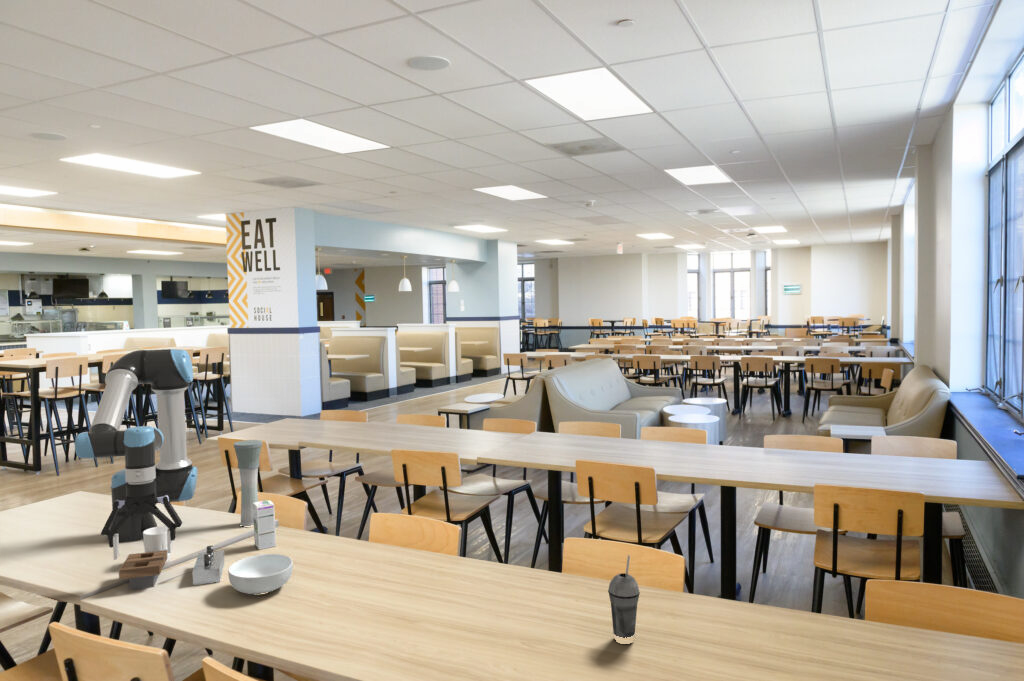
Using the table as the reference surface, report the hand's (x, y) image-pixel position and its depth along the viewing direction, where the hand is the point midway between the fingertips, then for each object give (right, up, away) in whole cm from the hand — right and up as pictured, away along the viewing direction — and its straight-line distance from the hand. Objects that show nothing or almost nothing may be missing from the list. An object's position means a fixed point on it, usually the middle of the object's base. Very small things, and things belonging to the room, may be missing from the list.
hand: (143, 554), depth 190 cm
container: (+10, -6, +52) cm, 53 cm away
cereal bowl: (+36, -8, -5) cm, 37 cm away
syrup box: (+24, -7, +29) cm, 38 cm away
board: (0, -4, +1) cm, 4 cm away
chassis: (+16, -8, +6) cm, 19 cm away
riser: (0, -8, +1) cm, 8 cm away
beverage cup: (+132, -9, -35) cm, 137 cm away
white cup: (-4, -8, +16) cm, 18 cm away
